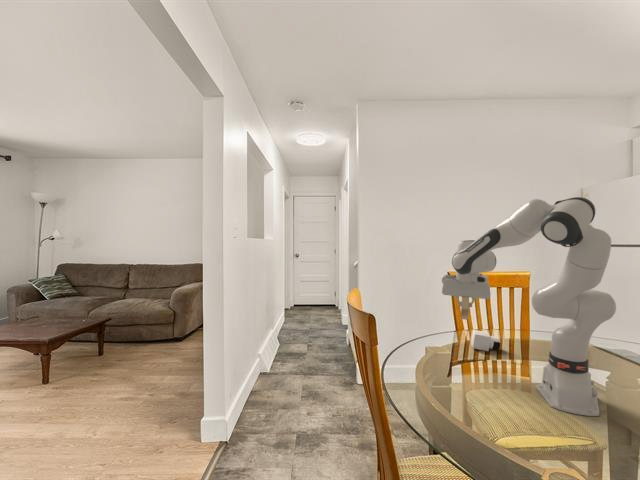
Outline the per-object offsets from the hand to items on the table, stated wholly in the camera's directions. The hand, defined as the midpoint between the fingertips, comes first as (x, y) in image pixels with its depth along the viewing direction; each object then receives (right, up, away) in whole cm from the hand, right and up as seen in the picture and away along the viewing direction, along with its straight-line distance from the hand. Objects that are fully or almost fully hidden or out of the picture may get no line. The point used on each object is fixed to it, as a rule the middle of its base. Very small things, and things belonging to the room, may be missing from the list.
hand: (465, 306), depth 166 cm
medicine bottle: (+9, -18, +14) cm, 24 cm away
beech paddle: (0, -5, +1) cm, 5 cm away
